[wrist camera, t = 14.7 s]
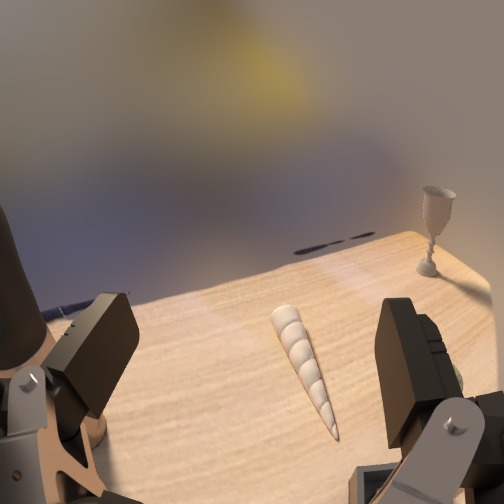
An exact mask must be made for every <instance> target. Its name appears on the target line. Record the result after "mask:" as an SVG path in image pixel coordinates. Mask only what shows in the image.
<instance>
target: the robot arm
mask: <svg viewBox="0 0 504 504" xmlns="http://www.w3.org/2000/svg"><path fill="white" fill-rule="evenodd" d="M138 343H139V328H138V325H137V323H136V320H135V318H134V315H133V312H132V310H131V307H130V304H129V302H128V299H127V297H126V295H125V294H123V293H112V292H102V293H101V294H100V295H99V296H98V297H97V298H96V300H95V301H94V302H93V303H92V305H90V306H89V307H88V308H86V309H85V310H84V311H82V312H81V313H80V314H79V315H78V316H77V317H76V318H75V320H74V321H73V322H72V323H71V327H68V329H67V330H66V331H65V333H64V335H62V337H61V338H60V339H59V340H58V342H57V343H56V341H55V339H54V337H53V336H52V334H51V332H50V330H49V328H48V326H47V325H46V323H45V321H44V319H43V317H42V315H41V313H40V310H39V308H38V305H37V302H36V299H35V297H34V294H33V292H32V289H31V287H30V285H29V282H28V280H27V278H26V275H25V272H24V270H23V267H22V264H21V261H20V258H19V256H18V252H17V249H16V246H15V243H14V239H13V236H12V233H11V230H10V227H9V224H8V221H7V218H6V215H5V213H4V211H3V209H2V208H1V206H0V504H143V503H142V502H139V501H136V500H133V499H130V498H127V497H124V496H121V495H118V494H115V493H112V492H110V491H107V489H106V487H105V485H104V484H103V482H102V481H101V480H100V478H99V476H98V474H97V472H96V469H95V465H94V461H93V457H92V453H91V449H93V448H94V447H95V446H97V445H98V444H99V442H100V441H101V440H102V438H103V436H104V433H105V429H106V421H105V417H104V415H103V413H102V412H103V410H104V408H105V406H106V404H107V402H108V400H109V398H110V396H111V395H112V393H113V391H114V389H115V387H116V385H117V383H118V381H119V379H120V377H121V375H122V374H123V372H124V370H125V368H126V366H127V364H128V362H129V360H130V359H131V357H132V355H133V353H134V351H135V349H136V348H137V346H138ZM375 359H376V364H377V370H378V376H379V381H380V388H381V394H382V400H383V407H384V414H385V422H386V430H387V438H388V447H389V449H392V448H400V447H401V454H402V459H401V460H400V461H399V463H398V464H397V466H396V467H395V469H394V470H393V472H392V473H391V475H390V476H389V477H388V479H387V480H386V482H385V483H384V484H383V486H382V487H381V488H380V490H379V491H378V492H377V494H376V495H375V496H374V498H373V499H372V500H371V502H370V503H369V504H451V503H452V500H453V498H454V496H455V495H456V493H457V491H458V489H459V488H464V490H465V501H466V504H504V417H497V416H488V415H484V414H483V413H482V411H481V410H480V408H479V407H478V406H477V405H476V404H475V403H473V402H472V401H470V400H468V399H465V398H464V396H463V394H462V391H461V388H460V385H459V382H458V379H457V376H456V373H455V371H454V368H453V365H452V362H451V360H450V357H449V354H448V353H447V349H446V347H445V344H444V342H442V337H441V334H440V332H439V330H438V327H437V325H436V324H435V323H434V322H433V321H432V320H431V319H430V318H429V317H428V316H427V315H426V314H419V315H417V313H416V311H415V308H414V306H413V303H412V301H411V299H410V298H385V299H384V300H383V303H382V308H381V313H380V318H379V323H378V328H377V332H376V337H375Z"/></svg>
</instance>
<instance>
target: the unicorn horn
mask: <svg viewBox="0 0 504 504" xmlns="http://www.w3.org/2000/svg"><path fill="white" fill-rule="evenodd" d="M271 323H272V325H273V327H274V329H275V331H276V333H277V335H278V337H279V339H280V341H281V343H282V345H283V347H284V349H285V351H286V353H287V355H288V357H289V359H290V361H291V363H292V365H293V366H294V368H295V370H296V372H297V374H298V376H299V378H300V380H301V382H302V384H303V386H304V387H305V389H306V391H307V393H308V395H309V397H310V398H311V400H312V402H313V404H314V406H315V407H316V409H317V411H318V413H319V414H320V416H321V418H322V419H323V421H324V423H325V424H326V426H327V428H328V429H329V431H330V432H331V434H332V435H333V436H334V438H335V439H336V440H338V433H337V429H336V425H335V423H333V422H334V417H333V414H332V410H331V407H330V403H329V401H327V400H326V399H327V398H328V397H327V394H326V391H325V387H324V384H323V381H322V380H320V377H321V375H320V372H319V369H318V366H317V363H316V360H315V359H313V358H314V354H313V351H312V349H311V346H310V343H309V341H308V337H307V334H306V331H305V328H304V325H303V324H302V320H301V317H300V314H299V312H298V310H297V308H296V307H295V306H293V305H283V306H280V307H278V308H276V309H275V310H274V311H273V312H272V315H271Z"/></svg>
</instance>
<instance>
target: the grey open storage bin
mask: <svg viewBox="0 0 504 504" xmlns="http://www.w3.org/2000/svg"><path fill="white" fill-rule="evenodd" d="M398 463H399V462H397V463H389V464H381V465H371V466H358V467H356V469H355V471H354V473H353V475H352V476H351V478H350V480H349V504H369V503H370V496H371V495H372V494H373V492H374V491H375V490H376V489H378V488H381V487H382V486H383V484H384V483H385V482H386V480H387V479H388V477H389V476H390V475H391V473H392V472H393V470H394V469H395V467H396V466H397V464H398Z"/></svg>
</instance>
